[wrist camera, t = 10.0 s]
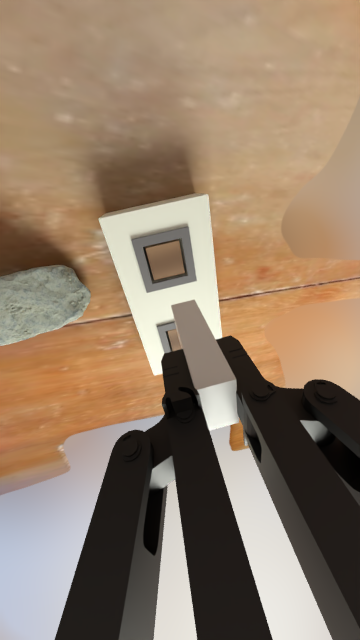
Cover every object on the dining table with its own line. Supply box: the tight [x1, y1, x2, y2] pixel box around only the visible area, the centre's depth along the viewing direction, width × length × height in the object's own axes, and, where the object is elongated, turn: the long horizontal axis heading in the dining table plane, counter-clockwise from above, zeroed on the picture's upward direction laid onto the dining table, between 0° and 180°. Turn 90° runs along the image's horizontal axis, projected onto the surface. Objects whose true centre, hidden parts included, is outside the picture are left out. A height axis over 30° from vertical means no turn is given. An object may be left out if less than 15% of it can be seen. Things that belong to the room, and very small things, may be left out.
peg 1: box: [145, 239, 185, 280], centre depth 29 cm, size 4×4×6 cm
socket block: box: [99, 193, 222, 376], centre depth 32 cm, size 24×12×6 cm, turn 11°
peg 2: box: [168, 329, 182, 351], centre depth 35 cm, size 4×4×6 cm
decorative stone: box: [0, 265, 91, 346], centre depth 29 cm, size 13×11×10 cm
